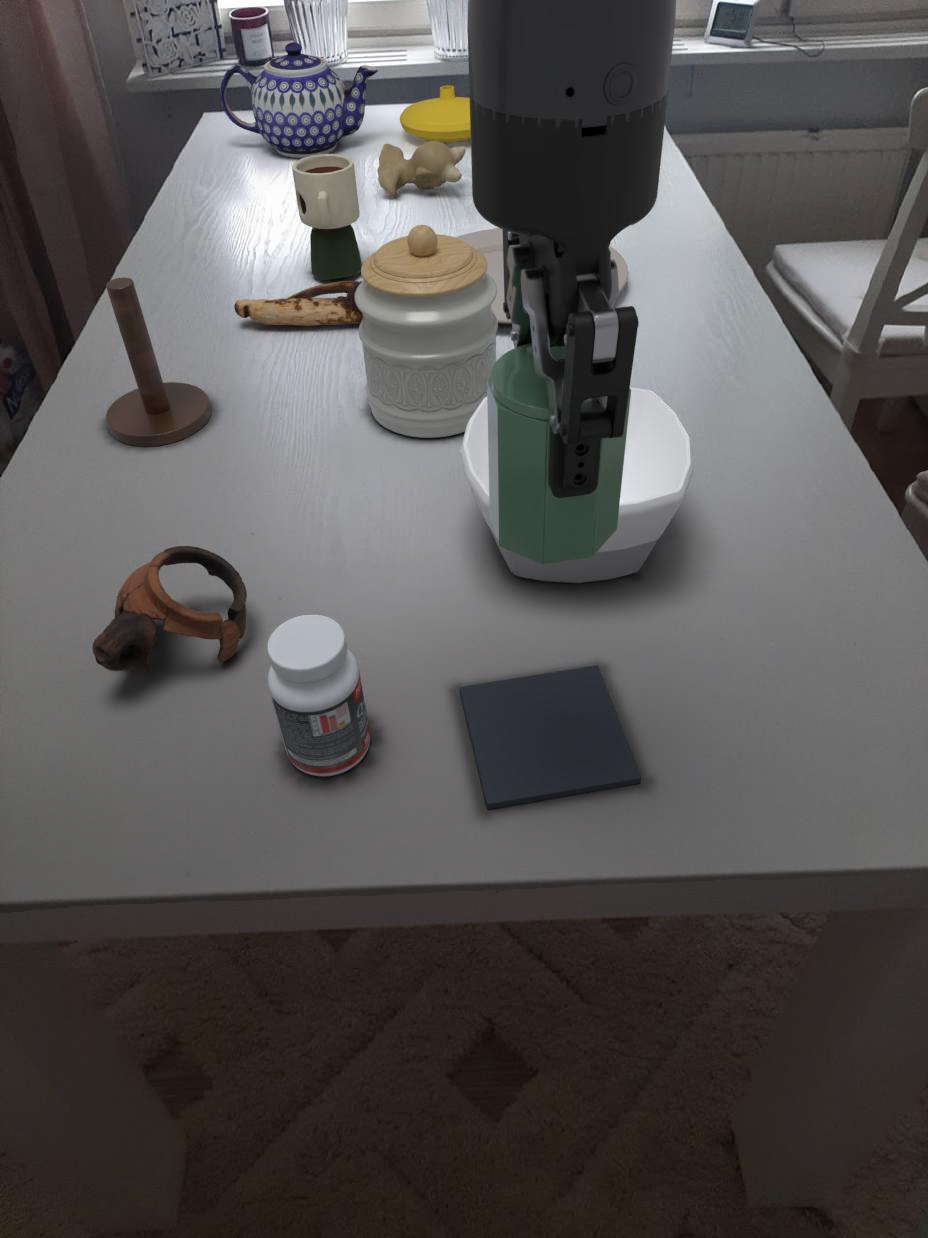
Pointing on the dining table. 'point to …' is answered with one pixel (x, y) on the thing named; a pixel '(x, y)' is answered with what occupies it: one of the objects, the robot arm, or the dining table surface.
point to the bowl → (646, 497)
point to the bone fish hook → (306, 307)
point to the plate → (493, 251)
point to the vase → (439, 118)
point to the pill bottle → (317, 695)
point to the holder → (149, 384)
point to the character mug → (329, 213)
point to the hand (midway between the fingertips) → (554, 450)
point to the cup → (542, 470)
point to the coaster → (546, 737)
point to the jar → (426, 332)
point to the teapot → (301, 103)
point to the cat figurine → (419, 166)
